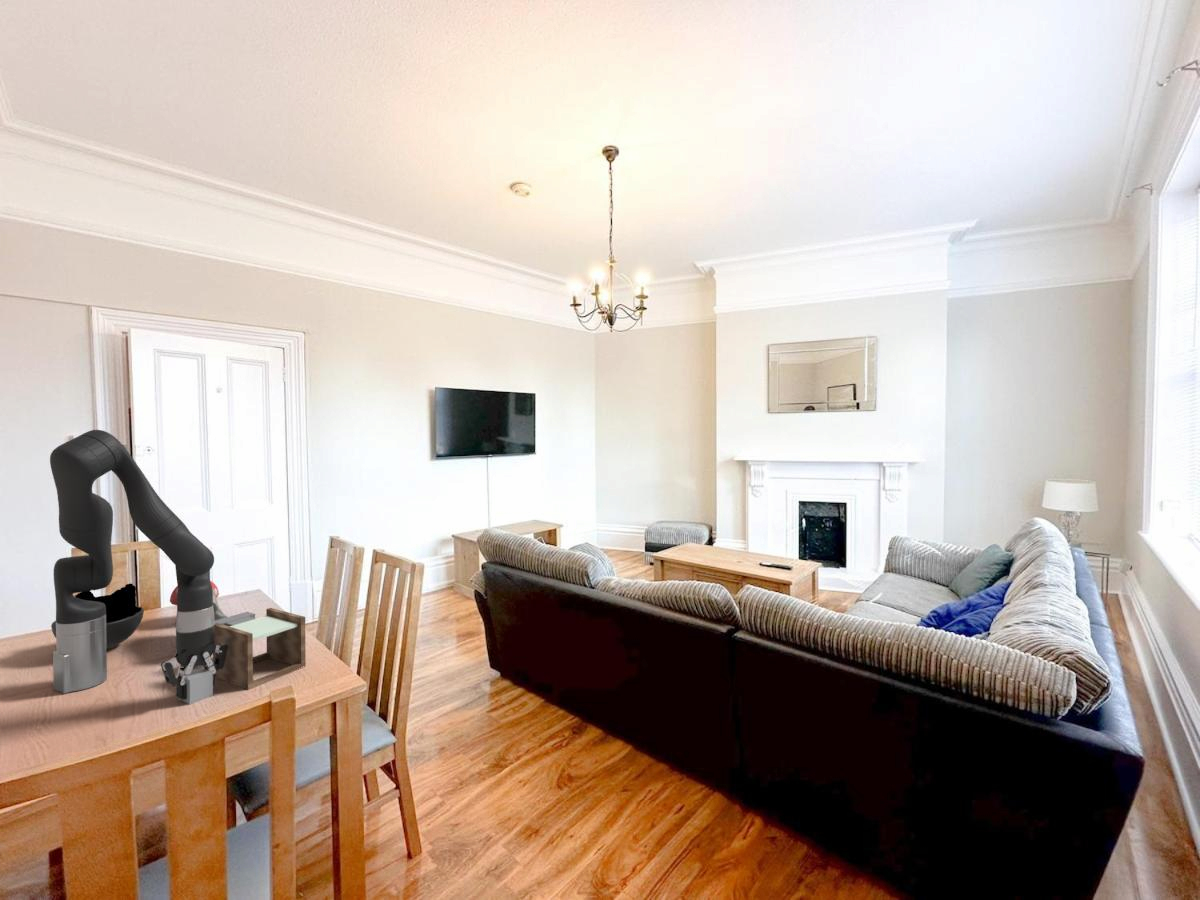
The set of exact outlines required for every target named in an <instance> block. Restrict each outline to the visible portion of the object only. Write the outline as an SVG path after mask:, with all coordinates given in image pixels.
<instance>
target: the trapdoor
mask: <svg viewBox="0 0 1200 900" xmlns="http://www.w3.org/2000/svg"><path fill="white" fill-rule="evenodd" d="M215 623H219V624H223V625H226V626H229V627H232V628H236V629H239V630H242V631H245V632H249V633H252V634H253V642H255V641H258V640H261V639H264V638H265V639H266V638H267V637H268V636H271V635H274V634H277V633H280V632H283V631H286V630H289V629H292V628H295V627H297V624H296V623H292V622H289V621H285V620H281V619H278V618H274V617H270V616H266V615H264V616H261V617H257V618H256V613H253V612H249V611H245V612H240V613H237V614H234V615H230V616H227V617H226V618H223V619H219V620H215V621H214V624H215Z"/></svg>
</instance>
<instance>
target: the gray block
mask: <svg viewBox="0 0 1200 900" xmlns="http://www.w3.org/2000/svg"><path fill="white" fill-rule="evenodd" d="M186 684H187V699H185V700H181V699H180V698H178V700H179V701H181V702H183V703H186V704H188V705H192V704H195V703H197V702H200V701H203V700H205V699H207V698H210V697H212V696H214V686H213V672H212V671H209V670H207V669H204V667H203V666H200V667H199V668H197V669H196V668H195V669H194V670H193V669H192V671H191V674H190V675H189V676H188V678H187V681H186Z"/></svg>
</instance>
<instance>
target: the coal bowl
mask: <svg viewBox="0 0 1200 900" xmlns="http://www.w3.org/2000/svg"><path fill="white" fill-rule="evenodd" d="M136 590H137V587H136V586H135V585H134V583H127V584H125V586H122V587H120V589H116V590H115V591H113V593H111V594H106V595H100V596H94V594H93V592H92V591H85V592H78V593H77V594H75V595H74V596H75V597H76V598H79V599H82V600H87V601H96V602H102V603H104V604H105V606H106V644H107V650H108V649H111V648H113V647H115V646H118V645H120V644H121V643H123V642H125V641H126V640H127V639H129V638H130V637H131V636H132V635H133V634H134V633H135V632H136V631H137V629H138V627H139V626H140V624H141V622H142V620H143V617H144V613H145V612H144V611H145V610H144V608H143V607H142V606H138V605H137V597H136V596H137V592H136ZM50 626H51V631H52V634H53V636H54V638H55V639H56V620H54V621H53V622H52V623H51V625H50Z"/></svg>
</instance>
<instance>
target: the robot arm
mask: <svg viewBox="0 0 1200 900" xmlns="http://www.w3.org/2000/svg"><path fill="white" fill-rule="evenodd" d="M49 465H50V469H51V470H50V471H51V473H52V478H53V481H54V485H55V489H56V493H57V494H56V495H57V501H58V502H57V503H58V528H59V530H58V531H59V533H60V536H61V538H63V540H64V541H65V542H66V543H68V544H69V545H71V547H74V548H76V549H77V550H79V551H82V552H84V553H85V554H86V555H76V556H66V557H62V558H59V559H57V560H56V561H55V563H54V567H53V585H54V593H55V594H54V596H55V621H56V638H55V640H56V641H55V645H56V646H55V647H56V650H53V652H52V667H53V668H52V671H53V672H52V674H53V675H52V676H53V677H52V679H53V681H52V683H53V689H54V690H55V691H58V692H60V694H63V695H64V694H67V693H71V692H72V693H73V692H79V691H82V690H86V689H90V688H93V687H96V686H98V685H101V684H102V683H104V682H105V681H107V679H108V660H107V659H108V657H107V652H108V651H107V650H108V649H107V644H106V606H105V604H104V603H102V602H96V601H87V600H82V599H79V598H76V597H75V595H74V594H76V593H77V594H78V593H80V592H85V591H90V592H92V591H98V590H101V589H105V588H107V587H109V585H110V584H111V582H112V581H113V575H114V565H113V554H112V553H113V552H112V536H113V525H114V510H113V507H112V504H110V502H109V501H108V500H107V499H106V498H103V497H102V496H100V495H98V494H96V493H93V484H94V483H95V481H96V480H97V479H98V478H100V477H103V476H104V475H105V474H108V473H109V472H113V473H114V474H115V476H116V477H117V478H118V480H119V481H120V483H121V485H122V486H123V488H124V492H125V496H126V500H127V506H128V509H129V515H130V518H131V520H132V522H133V524H134V525H135V526H136V528H138V530H139V531H140V532H141V534H143V535H144V536H146V538H147V539H148V540H149V541H151V543H153V544H154V546H156V547H158V548H159V549H160V550H161V551H162V552H163V553H164V554H165V556H167V557H168V558H169V560H170V561H171V562H172V563H173V565H174V566H175V576H176V577H175V578H176V584H177V586H178V592H177V605H176V609H177V610H176V618H175V645H176V646H175V649H176V653H175V655H174V657H172V658H171V659H168V660H167V661H166V660H163V661H161V662H160V667H161V671H162V674H163V676H164V680H165V682H166V684H168V685H170V686H172V687H174V686H175V691H176V692H175V694H176V695H175V696H176V697H177V698H178V699H179V698H180V699H181V700H185V699H187V684H186V681H187V678H188V676H189V675H190V674H191V671H193V669H194V670H195V669H196V668H198V667H202V668H204V669H207V670H209V671H212V672H213V687H214V686H215V684H216V677H215V673H216V671H218V670H219V669H222V668H223V667H224V663H225V659H226V654H227V650H228V645H226V644H223V643H220V644H219V645H215V643H214V639H215V633H214V609H213V589H212V585H211V582H210V581H211V569H212V568H213V566H214V563H215V556H214V554H213V552H212V551H211V550H210V548H208V547H207V546H206V544H204V543H203V542H202V541H200V540H199V538H197V536H195V535H194V534H193V533H192V532H191V531H190V530H189V528H188V527H187V525H186V524H185V522H183V520H181V519H180V517H178V515H176V514H175V512H173V510H172V509H171V508H170V507H169V506H168V505H167V504H166V503H165V502H164V501H163V499H162V498H161V497H160V496H159V494H158V493H157V492H156V490H155V489H154V488H153V486H152V484H151V483H150V481H149V480H148V478H147V477H146V476H145V474H144V473H143V470H141V468H140V467H139V465H138V464H137V462H136V461H135V459H134V458H133V457H132V455H131V454H130V452H129V451H128V449H127V448H126V447H125V445H124V444H123V443H122V442H120V441H119V440H118V438H117V437H115V436H114V435H113V434H111V433H110V432H107V431H106V430H102V429H92V430H89V431H86V432H84V433H82V434H80V435H78V436H76V437H74V438H72V439H70V440H68V441H66V442H64V443H62V444H60V445H59V446H57V447H55V448H54V449H53V450H52V452H51V453H50V456H49ZM214 651H215V652H216V656H215V660H214V664H213V659H212V657H213V653H214ZM176 663H178V664H179V667H178V669H177V675H176V672H175V670H174V669H175V668H176ZM181 700H180V701H181Z"/></svg>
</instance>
